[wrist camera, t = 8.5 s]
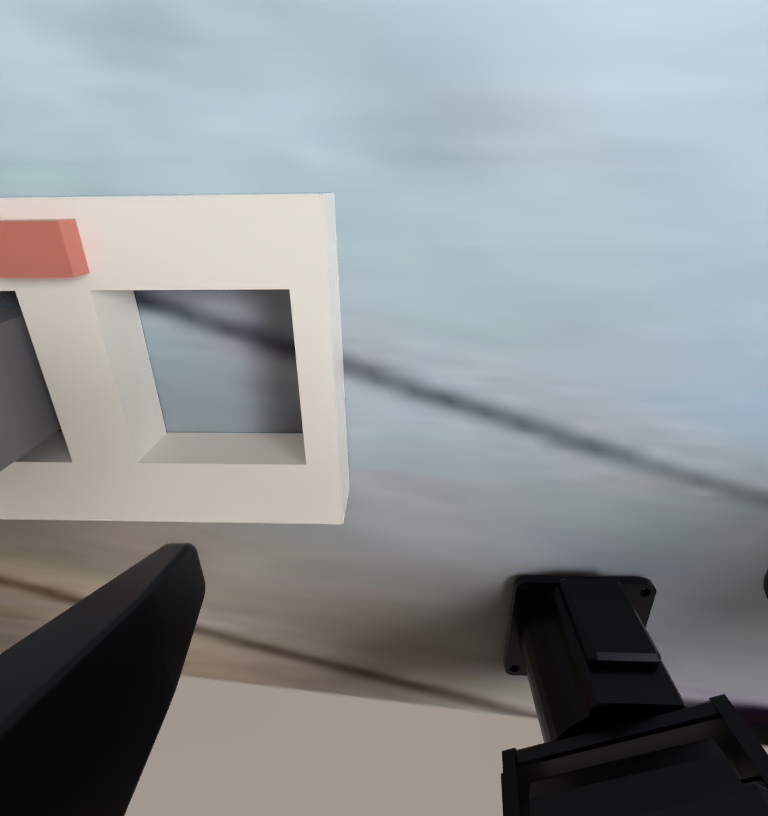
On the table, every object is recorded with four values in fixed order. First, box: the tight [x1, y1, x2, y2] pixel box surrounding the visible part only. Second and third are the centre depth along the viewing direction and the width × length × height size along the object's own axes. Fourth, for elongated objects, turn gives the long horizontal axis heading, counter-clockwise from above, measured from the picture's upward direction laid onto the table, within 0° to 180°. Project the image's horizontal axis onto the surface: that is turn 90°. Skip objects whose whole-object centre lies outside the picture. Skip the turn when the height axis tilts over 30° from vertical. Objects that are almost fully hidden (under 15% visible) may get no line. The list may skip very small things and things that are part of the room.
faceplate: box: [0, 193, 350, 524], centre depth 18 cm, size 12×18×3 cm, turn 91°
